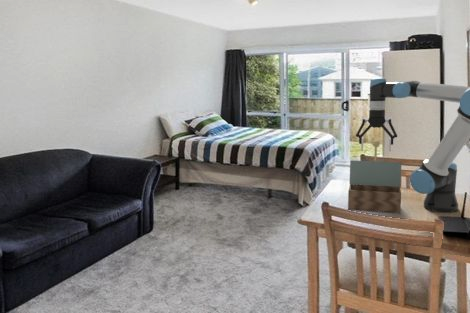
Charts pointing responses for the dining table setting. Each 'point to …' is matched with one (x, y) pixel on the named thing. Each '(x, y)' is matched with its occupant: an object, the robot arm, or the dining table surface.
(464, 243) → the dining table surface
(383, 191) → the storage box
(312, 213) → the dining table surface
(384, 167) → the box lid
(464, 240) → the dining table surface
